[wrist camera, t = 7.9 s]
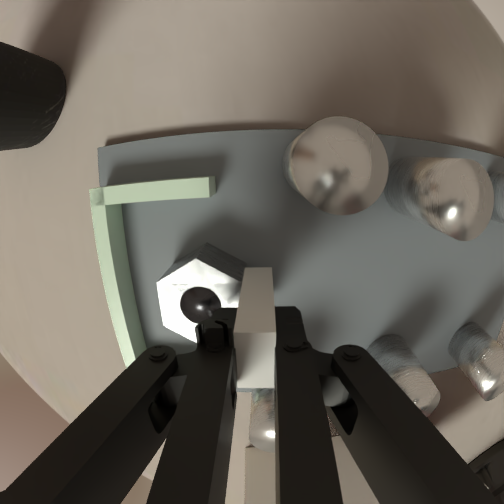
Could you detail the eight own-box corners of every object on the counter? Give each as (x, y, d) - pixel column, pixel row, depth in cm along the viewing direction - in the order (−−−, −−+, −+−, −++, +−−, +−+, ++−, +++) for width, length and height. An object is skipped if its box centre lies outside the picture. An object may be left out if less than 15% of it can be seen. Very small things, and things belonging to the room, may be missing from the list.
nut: (248, 320, 18) (245, 348, 15) (180, 319, 18) (167, 345, 16) (245, 241, 17) (242, 258, 14) (170, 243, 17) (152, 259, 14)
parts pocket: (228, 367, 19) (225, 386, 18) (138, 361, 20) (129, 377, 18) (215, 175, 16) (208, 177, 14) (106, 185, 16) (89, 189, 14)
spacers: (468, 362, 19) (500, 402, 13) (253, 390, 20) (250, 453, 14) (508, 161, 14) (564, 168, 8) (244, 133, 15) (233, 115, 9)
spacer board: (485, 353, 20) (489, 357, 19) (143, 377, 21) (140, 383, 21) (522, 164, 15) (528, 164, 14) (103, 148, 16) (97, 147, 15)
